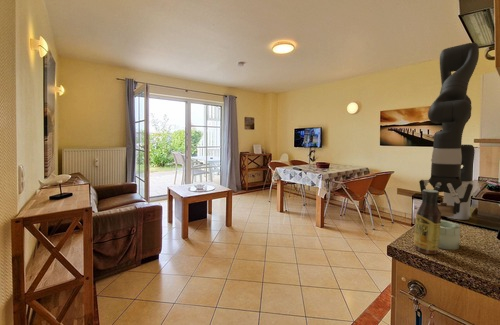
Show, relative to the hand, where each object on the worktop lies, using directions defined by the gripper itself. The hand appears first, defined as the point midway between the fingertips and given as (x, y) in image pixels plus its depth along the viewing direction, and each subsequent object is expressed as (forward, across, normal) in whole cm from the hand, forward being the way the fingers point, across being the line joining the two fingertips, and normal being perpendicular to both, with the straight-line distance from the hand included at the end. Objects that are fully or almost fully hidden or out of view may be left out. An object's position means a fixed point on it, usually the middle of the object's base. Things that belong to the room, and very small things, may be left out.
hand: (443, 211), depth 78 cm
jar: (+11, 0, 0) cm, 11 cm away
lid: (+1, 0, 0) cm, 1 cm away
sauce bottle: (+12, +3, +10) cm, 16 cm away
